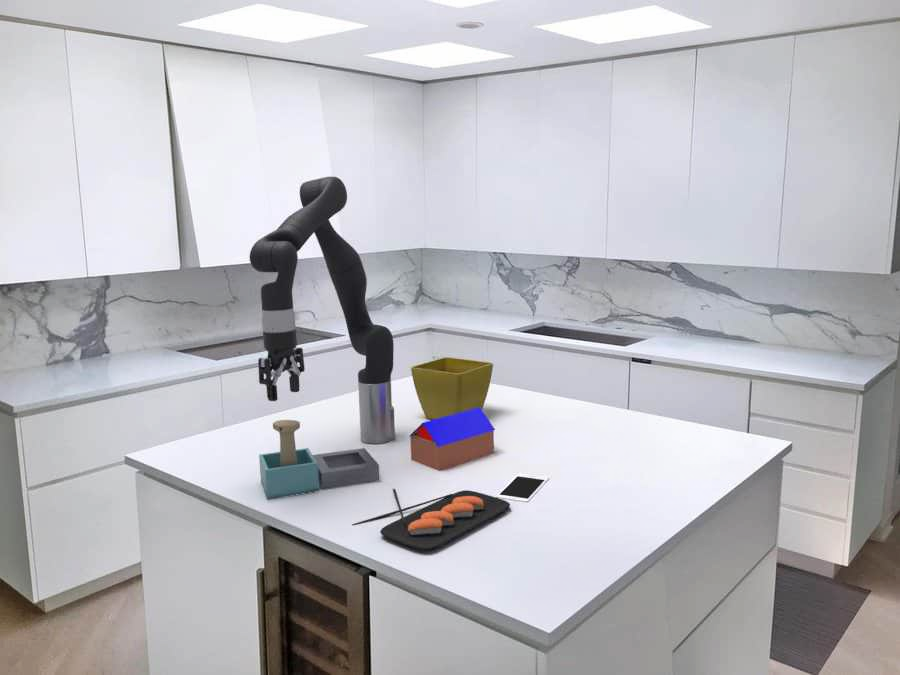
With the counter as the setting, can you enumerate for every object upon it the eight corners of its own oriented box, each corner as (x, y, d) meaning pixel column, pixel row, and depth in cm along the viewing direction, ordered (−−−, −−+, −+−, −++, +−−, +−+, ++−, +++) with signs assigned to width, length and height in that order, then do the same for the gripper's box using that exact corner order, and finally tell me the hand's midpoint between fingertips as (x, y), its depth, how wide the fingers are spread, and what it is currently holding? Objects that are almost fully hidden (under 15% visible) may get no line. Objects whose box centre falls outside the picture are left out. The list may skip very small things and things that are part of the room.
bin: (309, 474, 189) (308, 448, 188) (319, 491, 178) (317, 463, 177) (260, 481, 185) (259, 454, 184) (267, 499, 174) (265, 470, 173)
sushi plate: (427, 560, 144) (427, 541, 143) (324, 520, 163) (323, 503, 162) (515, 511, 166) (515, 494, 165) (415, 481, 185) (415, 466, 184)
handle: (295, 488, 178) (291, 427, 176) (273, 484, 181) (268, 424, 178) (307, 481, 183) (303, 421, 180) (284, 477, 185) (280, 418, 182)
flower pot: (446, 405, 250) (445, 356, 247) (495, 414, 239) (494, 362, 236) (410, 419, 235) (409, 367, 232) (460, 429, 224) (459, 374, 221)
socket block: (365, 462, 197) (364, 448, 196) (379, 480, 184) (378, 465, 183) (311, 470, 192) (310, 455, 192) (322, 489, 179) (321, 473, 179)
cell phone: (549, 479, 183) (549, 477, 183) (527, 504, 169) (527, 501, 169) (519, 475, 187) (519, 473, 187) (495, 499, 172) (495, 496, 172)
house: (409, 460, 198) (407, 418, 196) (465, 443, 211) (464, 403, 209) (439, 472, 190) (437, 427, 188) (495, 453, 203) (495, 411, 200)
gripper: (273, 334, 166) (278, 405, 169) (310, 323, 179) (314, 390, 182) (246, 332, 170) (251, 402, 173) (284, 322, 182) (289, 387, 185)
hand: (284, 396), depth 177 cm, fingers open, 8 cm apart
